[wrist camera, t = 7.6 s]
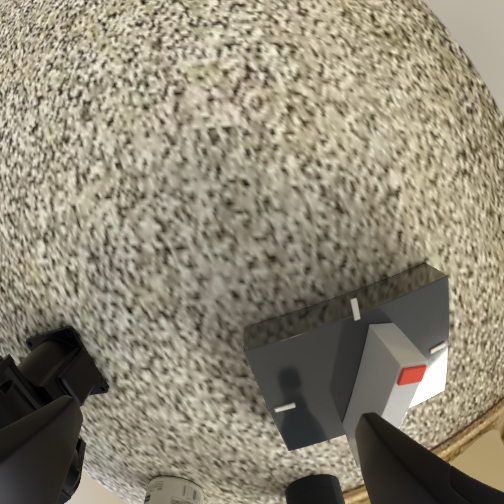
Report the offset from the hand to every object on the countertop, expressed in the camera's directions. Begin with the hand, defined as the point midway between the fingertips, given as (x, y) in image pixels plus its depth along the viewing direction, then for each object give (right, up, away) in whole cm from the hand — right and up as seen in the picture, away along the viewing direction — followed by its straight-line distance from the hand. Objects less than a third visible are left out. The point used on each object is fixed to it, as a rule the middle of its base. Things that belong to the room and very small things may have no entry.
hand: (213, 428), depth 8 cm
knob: (+9, -4, +10) cm, 14 cm away
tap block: (+9, -3, +13) cm, 16 cm away
